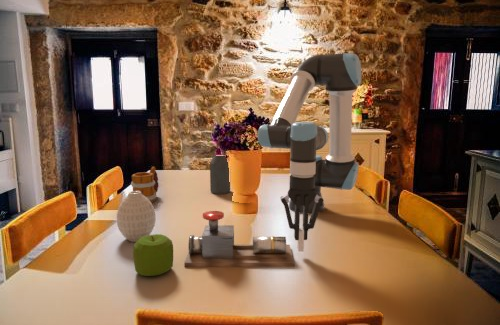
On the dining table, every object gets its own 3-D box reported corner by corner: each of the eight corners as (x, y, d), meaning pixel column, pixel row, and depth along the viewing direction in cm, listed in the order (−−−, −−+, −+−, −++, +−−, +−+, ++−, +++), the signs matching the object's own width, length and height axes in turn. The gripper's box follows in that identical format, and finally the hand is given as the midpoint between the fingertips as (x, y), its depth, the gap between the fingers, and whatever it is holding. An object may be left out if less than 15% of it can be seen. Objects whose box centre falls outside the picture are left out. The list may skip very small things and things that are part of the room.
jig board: (289, 248, 120) (289, 241, 119) (294, 266, 107) (294, 259, 107) (191, 248, 120) (191, 241, 119) (184, 266, 107) (184, 259, 107)
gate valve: (234, 247, 117) (233, 209, 115) (232, 260, 109) (232, 219, 106) (192, 247, 117) (191, 209, 115) (188, 260, 109) (186, 219, 106)
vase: (121, 248, 119) (117, 199, 116) (115, 235, 130) (112, 190, 127) (160, 241, 125) (158, 194, 122) (152, 229, 136) (149, 185, 133)
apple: (153, 285, 97) (151, 246, 95) (125, 274, 102) (123, 237, 100) (182, 268, 106) (180, 232, 104) (155, 259, 111) (153, 225, 109)
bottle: (233, 192, 186) (233, 133, 181) (217, 195, 181) (216, 135, 175) (223, 188, 195) (222, 131, 189) (207, 191, 189) (206, 133, 184)
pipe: (284, 249, 116) (284, 233, 115) (286, 256, 111) (286, 240, 110) (252, 249, 116) (252, 233, 115) (252, 256, 111) (253, 240, 110)
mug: (126, 203, 169) (124, 171, 166) (148, 194, 184) (147, 164, 181) (145, 205, 165) (144, 173, 162) (167, 196, 180) (165, 166, 177)
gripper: (322, 172, 112) (319, 244, 117) (279, 172, 112) (278, 244, 117) (327, 177, 105) (324, 254, 109) (281, 177, 105) (280, 254, 109)
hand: (300, 249), depth 113 cm, fingers closed
